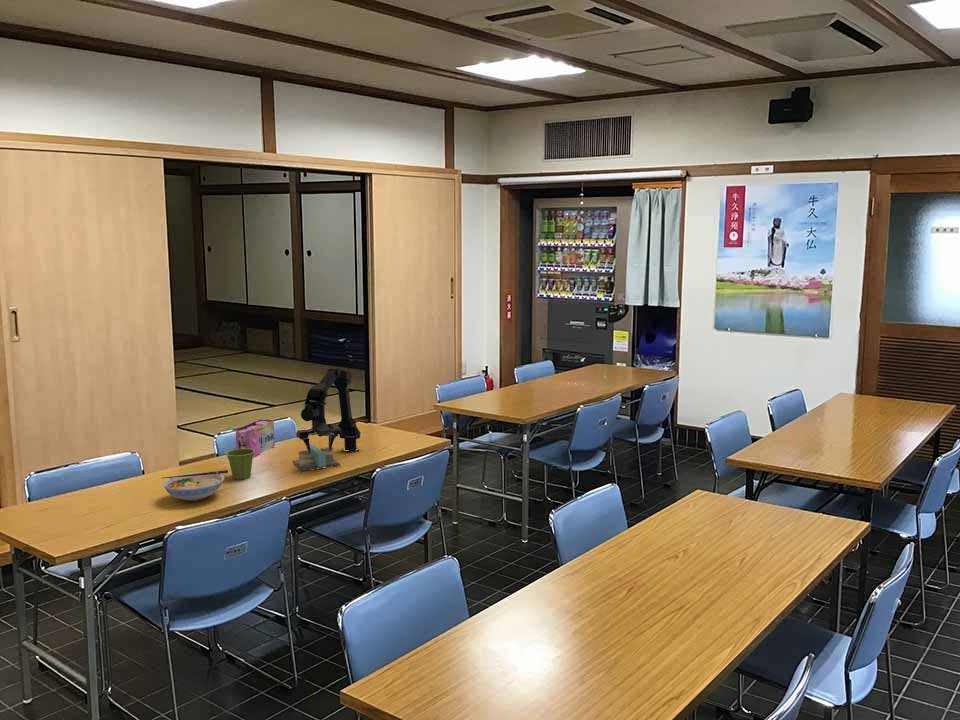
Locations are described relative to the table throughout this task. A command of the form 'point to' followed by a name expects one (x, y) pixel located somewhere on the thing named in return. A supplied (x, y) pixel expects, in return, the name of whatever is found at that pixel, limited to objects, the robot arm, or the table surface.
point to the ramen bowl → (194, 485)
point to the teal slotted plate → (318, 456)
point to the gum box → (256, 436)
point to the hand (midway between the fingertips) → (319, 451)
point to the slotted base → (312, 466)
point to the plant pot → (240, 462)
